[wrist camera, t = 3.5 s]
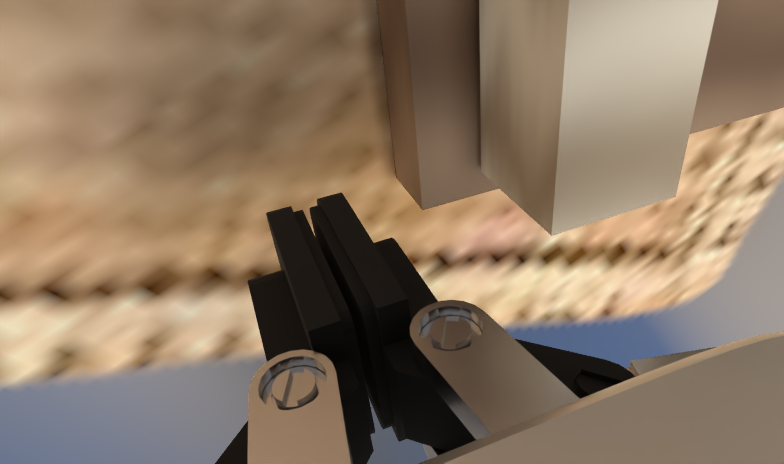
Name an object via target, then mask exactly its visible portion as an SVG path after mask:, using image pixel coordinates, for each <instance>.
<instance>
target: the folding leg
mask: <svg viewBox="0 0 784 464" xmlns="http://www.w3.org/2000/svg"><path fill="white" fill-rule="evenodd" d="M718 1H719V0H479V25H480V108H481V172H482V173H483V174H484V175H485V176H486V177H487V178H488V179H489V180H491V181H492V182H493V183H494V184H495V185H496V186H497V187H498V188H499V189H501V190H502V191H503V192H504V193H505V194H506V195H507V196H508V197H509V198H511V199H512V200H513V201H514V202H515V203H516V204H517V205H518V206H519V207H520V208H522V209H523V210H524V211H525V212H526V213H527V214H528V215H529V216H530V217H532V218H533V219H534V220H535V221H536V222H537V223H538V224H539V225H540V226H542V227H543V228H544V229H545V230H546V231H547V232H548V233H549V234H550V235H551V236H552V235H555V234H558V233H561V232H565V231H568V230H571V229H574V228H577V227H580V226H584V225H587V224H590V223H593V222H596V221H600V220H603V219H606V218H609V217H612V216H616V215H619V214H622V213H625V212H628V211H632V210H635V209H638V208H641V207H644V206H648V205H651V204H654V203H657V202H660V201H664V200H667V199H670V198H673V197H676V192H677V188H678V183H679V179H680V174H681V169H682V165H683V160H684V156H685V151H686V147H687V142H688V137H689V133H690V128H691V124H692V119H693V115H694V110H695V106H696V101H697V96H698V92H699V87H700V83H701V78H702V74H703V69H704V64H705V60H706V55H707V51H708V46H709V42H710V37H711V33H712V28H713V23H714V19H715V14H716V10H717V5H718Z"/></svg>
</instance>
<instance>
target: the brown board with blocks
mask: <svg viewBox="0 0 784 464" xmlns="http://www.w3.org/2000/svg"><path fill="white" fill-rule="evenodd" d="M377 7H378V16H379V25H380V34H381V43H382V52H383V61H384V70H385V79H386V89H387V98H388V107H389V116H390V125H391V134H392V143H393V152H394V161H395V170H396V178H397V179H398V180H399V181H400V183H401V184H402V185H403V186H404V188H405V189H406V190H407V191H408V193H409V194H410V195H411V196H412V198H413V199H414V200H415V201H416V203H417V204H418V205H419V206H420V208H421V209H422V210H425V209H428V208H432V207H435V206H439V205H442V204H446V203H449V202H453V201H456V200H460V199H463V198H467V197H470V196H474V195H477V194H481V193H484V192H488V191H491V190H495V189H498V187H497V186H496V185H495V184H494V183H493V182H492V181H491V180H489V179H488V178H487V177H486V176H485V175H484V174H483V173H482V172H481V108H480V25H479V0H377ZM783 107H784V0H719V1H718V5H717V10H716V14H715V19H714V23H713V28H712V33H711V37H710V42H709V46H708V51H707V55H706V60H705V64H704V69H703V74H702V78H701V83H700V87H699V92H698V96H697V101H696V106H695V110H694V115H693V119H692V124H691V128H690V133H689V134H692V133H695V132H699V131H703V130H706V129H710V128H713V127H717V126H720V125H724V124H727V123H731V122H734V121H738V120H741V119H745V118H748V117H752V116H755V115H759V114H762V113H766V112H769V111H773V110H776V109H780V108H783Z"/></svg>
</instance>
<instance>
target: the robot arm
mask: <svg viewBox="0 0 784 464" xmlns="http://www.w3.org/2000/svg"><path fill="white" fill-rule="evenodd" d="M317 205H318V206H315V207H311V208H310V215H311V219H312V224H313V228H314V233H315V236H314V234H313V231H312V229H311V227H310V225H309V223H308V221H307V219H306V216H305V214H304V212H303V210H300V211H296V212H293V210H292V208H291V206H290V207H286V208H282V209H279V210H275V211H271V212H268V213H266V215H267V219H268V223H269V226H270V230H271V234H272V237H273V241H274V245H275V248H276V252H277V255H278V259H279V263H280V266H281V271H278V272H275V273H271V274H268V275H265V276H261V277H258V278H254V279H251V280H248V285H249V289H250V293H251V297H252V301H253V305H254V310H255V314H256V318H257V322H258V326H259V330H260V335H261V339H262V343H263V347H264V351H265V355H266V359H267V362H266V363H265V364H264V365H263V366H262V367H261V368H260V369H259V370H258V371H257V372H256V374H255V375H254V377H253V379H252V380H251V383H250V388H249V403H248V421H247V423H246V424H245V425H244V426H243V428H242V429H241V431H240V432H239V433H238V434H237V436H236V437H235V438H234V440H233V441H232V442H231V443H230V445H229V446H228V447H227V449H226V450H225V451H224V453H223V454H222V455H221V456H220V458H219V459H218V461H217V462H216V463H215V464H367V462H368V460H369V458H370V456H371V454H372V452H373V446H372V441H371V436H370V434H372V433H375V428H374V423H373V418H372V413H371V407H370V402H369V399H370V401H371V403H372V406H373V408H374V411H375V413H376V415H377V418H378V420H379V422H380V424H381V427H382V428H383V429H385V428H388V427H391V426H392V428H393V430H394V432H395V434H396V437H397V439H398V441H402V440H404V439H410V440H413V441H416V442H419V443H422V444H424V450H425V452H426V454H427V456H428V458H429V460H426V461H424V462H421V463H419V464H784V331H783V332H777V333H769V334H763V335H759V336H755V337H751V338H747V339H742V340H738V341H735V342H732V343H729V344H725V345H722V346H719V347H714V348H707V349H701V350H695V351H688V352H683V353H676V354H670V355H664V356H657V357H651V358H645V359H639V360H633V361H630V366H629V367H628V368H624V367H622V366H620V365H619V364H616V363H613V362H610V361H607V360H603V359H599V358H595V357H591V356H587V355H582V354H578V353H574V352H569V351H565V350H560V349H556V348H552V347H547V346H543V345H539V344H534V343H530V342H526V341H522V340H517V339H514V338H513V337H511V335H509V334H508V333H507V332H506V331H505V330H504V329H503V328H502V327H501V326H500V325H498V324H497V323H496V322H495V321H494V320H493V319H492V318H491V317H490V316H489V315H488V314H486V313H485V312H484V311H483V310H481V309H480V308H478V307H477V306H475V305H473V304H470V303H467V302H464V301H456V300H447V301H439V302H438V301H437V299H436V298H435V296H434V295H433V294H432V292H431V291H430V289H429V288H428V286H427V285H426V284H425V282H424V281H423V279H422V278H421V276H420V275H419V273H418V272H417V271H416V269H415V268H414V266H413V265H412V263H411V262H410V260H409V259H408V258H407V256H406V255H405V253H404V252H403V250H402V249H401V248H400V246H399V245H398V243H397V242H396V241H395V240H394V238H389V239H385V240H382V241H379V242H375V243H373V241H372V240H371V238H370V237H369V235H368V233H367V232H366V230H365V229H364V227H363V225H362V224H361V222H360V221H359V219H358V217H357V216H356V214H355V213H354V211H353V209H352V208H351V206H350V205H349V203H348V201H347V200H346V198H345V197H344V195H343V194H342V193H338V194H334V195H330V196H327V197H323V198H319V199H317ZM315 237H316V238H315Z"/></svg>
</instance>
